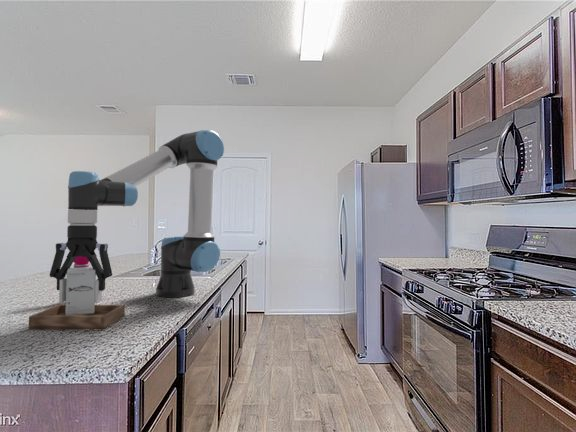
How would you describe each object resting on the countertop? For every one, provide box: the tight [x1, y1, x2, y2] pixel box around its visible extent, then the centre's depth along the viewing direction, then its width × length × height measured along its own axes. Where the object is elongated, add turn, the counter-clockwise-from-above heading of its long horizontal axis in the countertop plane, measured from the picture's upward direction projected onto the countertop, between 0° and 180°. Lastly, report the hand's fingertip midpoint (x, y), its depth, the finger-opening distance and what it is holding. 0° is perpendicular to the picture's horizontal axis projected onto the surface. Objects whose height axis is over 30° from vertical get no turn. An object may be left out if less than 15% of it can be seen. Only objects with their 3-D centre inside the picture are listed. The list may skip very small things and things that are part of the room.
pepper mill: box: [72, 256, 90, 268], centre depth 131 cm, size 7×7×20 cm
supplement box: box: [65, 266, 97, 316], centre depth 106 cm, size 7×7×13 cm
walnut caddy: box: [28, 303, 126, 331], centre depth 105 cm, size 20×14×4 cm
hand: (80, 301), depth 105 cm, fingers closed on supplement box, 9 cm apart
